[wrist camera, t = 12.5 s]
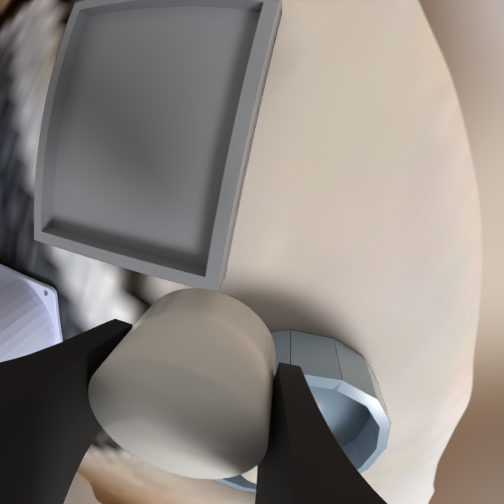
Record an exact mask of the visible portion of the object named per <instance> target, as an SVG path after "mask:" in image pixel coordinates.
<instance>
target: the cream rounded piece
mask: <svg viewBox="0 0 504 504" xmlns="http://www.w3.org/2000/svg"><path fill="white" fill-rule="evenodd" d="M275 360H276V350H275V345H274V341H273V338H272V335H271V333H270V332H269V330H268V328H267V326H266V325H265V323H264V322H263V321H262V319H261V318H260V317H259V316H258V315H257V314H256V313H255V312H254V311H253V310H251V309H250V308H249V307H248V306H246V305H245V304H243V303H242V302H240V301H239V300H237V299H235V298H233V297H231V296H228V295H226V294H223V293H220V292H216V291H212V290H207V289H182V290H178V291H174V292H171V293H169V294H166V295H164V296H163V297H161V298H160V299H158V300H157V301H156V302H155V303H153V304H152V306H151V307H150V308H149V309H148V310H147V311H146V312H145V314H144V315H143V316H142V317H141V318H140V319H139V321H138V322H137V323H136V324H135V325H134V326H133V328H132V329H131V330H130V331H129V332H128V333H127V335H126V336H125V337H124V338H123V339H122V341H121V342H120V343H119V344H118V345H117V346H116V348H115V349H114V350H113V351H112V352H111V354H110V355H109V356H108V357H107V358H106V360H105V361H104V362H103V363H102V364H101V366H100V367H99V368H98V369H97V371H96V372H95V373H94V374H93V376H92V378H91V380H90V382H89V388H88V397H89V402H90V405H91V408H92V411H93V413H94V415H95V417H96V419H97V420H98V422H99V423H100V425H101V426H102V428H103V429H104V430H105V431H106V433H107V434H108V435H109V436H110V437H111V438H112V439H113V440H114V441H115V442H116V443H118V444H119V445H120V446H121V447H122V448H124V449H125V450H126V451H127V452H129V453H130V454H132V455H133V456H135V457H136V458H138V459H140V460H142V461H143V462H145V463H147V464H149V465H151V466H154V467H156V468H158V469H161V470H163V471H166V472H169V473H173V474H176V475H180V476H184V477H190V478H197V479H223V478H229V477H234V476H238V475H241V474H243V473H246V472H248V471H249V470H251V469H253V468H254V467H255V466H257V465H258V464H259V463H260V462H261V461H262V459H263V458H264V456H265V454H266V452H267V447H268V439H269V429H270V418H271V408H272V396H273V385H274V373H275Z"/></svg>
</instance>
